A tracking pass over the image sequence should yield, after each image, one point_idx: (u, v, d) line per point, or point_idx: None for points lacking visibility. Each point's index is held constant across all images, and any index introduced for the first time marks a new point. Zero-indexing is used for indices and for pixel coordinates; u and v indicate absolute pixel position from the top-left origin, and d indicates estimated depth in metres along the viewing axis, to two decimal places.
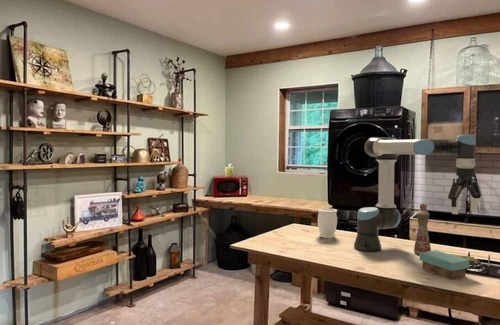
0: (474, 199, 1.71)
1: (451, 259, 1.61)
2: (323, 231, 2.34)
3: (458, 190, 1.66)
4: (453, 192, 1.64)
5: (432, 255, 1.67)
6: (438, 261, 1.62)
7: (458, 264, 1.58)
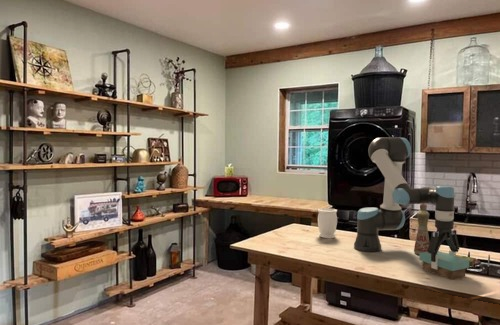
0: (452, 252, 1.68)
1: (451, 259, 1.61)
2: (323, 231, 2.34)
3: (437, 244, 1.63)
4: (432, 247, 1.62)
5: None
6: (438, 261, 1.62)
7: (458, 264, 1.58)
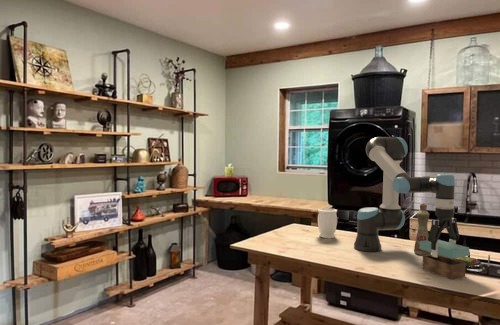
0: (452, 241, 1.68)
1: (451, 247, 1.61)
2: (323, 231, 2.34)
3: (437, 232, 1.63)
4: (432, 235, 1.62)
5: None
6: (438, 249, 1.62)
7: (458, 252, 1.57)
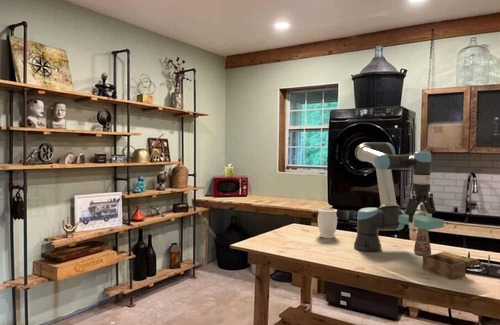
0: (428, 214, 1.79)
1: (427, 219, 1.72)
2: (323, 231, 2.34)
3: (414, 206, 1.74)
4: (409, 208, 1.72)
5: None
6: (415, 222, 1.73)
7: (433, 224, 1.68)
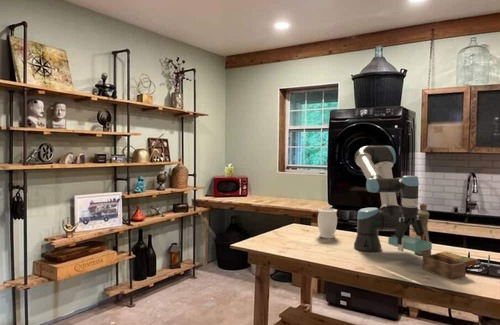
0: (417, 236, 1.84)
1: (415, 242, 1.77)
2: (323, 231, 2.34)
3: (403, 228, 1.79)
4: (398, 231, 1.78)
5: None
6: (404, 244, 1.78)
7: (421, 246, 1.74)
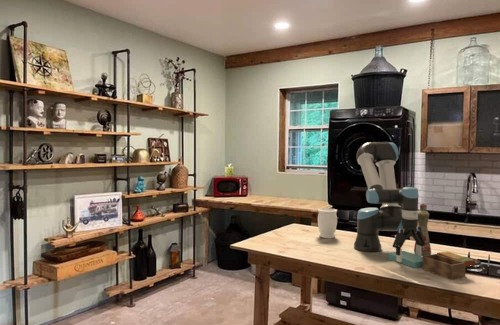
0: (418, 246, 1.85)
1: (415, 259, 1.78)
2: (323, 231, 2.34)
3: (402, 239, 1.79)
4: (397, 242, 1.78)
5: None
6: (403, 261, 1.79)
7: (420, 263, 1.74)
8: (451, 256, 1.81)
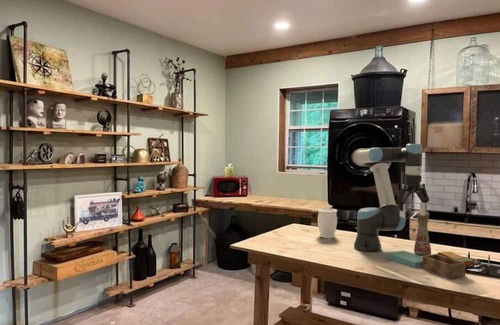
0: (422, 203, 1.85)
1: (415, 259, 1.78)
2: (323, 231, 2.34)
3: (405, 195, 1.80)
4: (400, 197, 1.78)
5: (399, 255, 1.84)
6: (403, 261, 1.79)
7: (420, 263, 1.74)
8: (451, 256, 1.82)
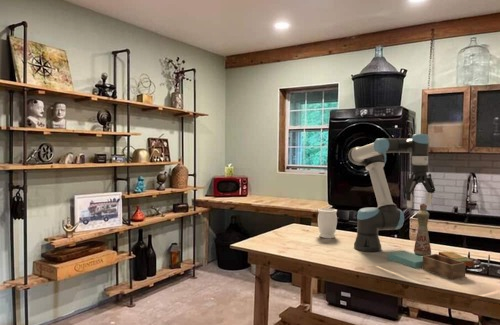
0: (428, 193, 1.86)
1: (415, 259, 1.78)
2: (323, 231, 2.34)
3: (412, 185, 1.80)
4: (407, 187, 1.79)
5: (399, 255, 1.84)
6: (403, 261, 1.79)
7: (420, 263, 1.74)
8: (450, 256, 1.82)
